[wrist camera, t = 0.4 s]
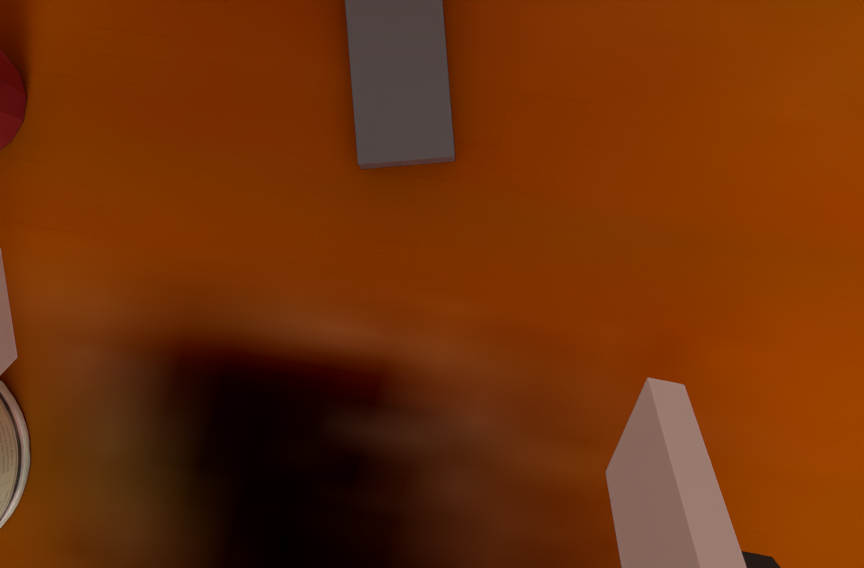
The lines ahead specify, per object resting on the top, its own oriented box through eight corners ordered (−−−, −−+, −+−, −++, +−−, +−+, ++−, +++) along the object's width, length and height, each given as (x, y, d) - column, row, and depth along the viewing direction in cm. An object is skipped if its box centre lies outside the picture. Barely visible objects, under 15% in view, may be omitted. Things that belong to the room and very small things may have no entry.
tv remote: (454, 162, 34) (454, 155, 32) (362, 170, 34) (357, 163, 32) (429, -151, 34) (428, -179, 32) (337, -142, 34) (330, -169, 32)
